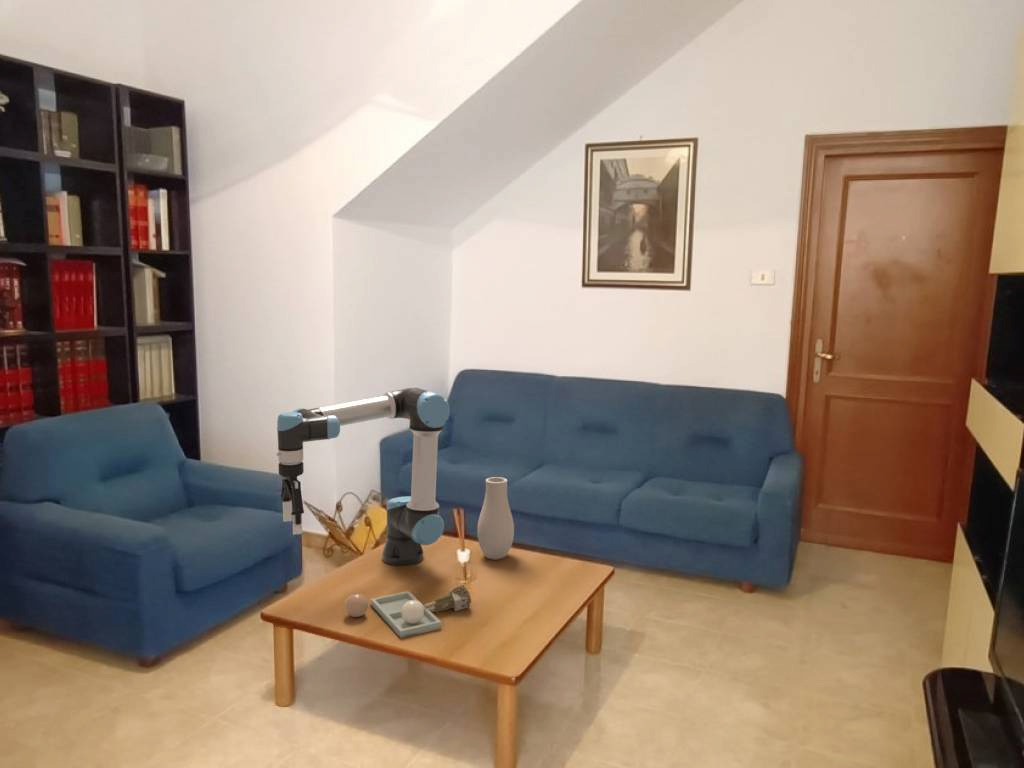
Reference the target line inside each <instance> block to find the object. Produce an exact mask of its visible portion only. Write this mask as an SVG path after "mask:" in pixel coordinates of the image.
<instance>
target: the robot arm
mask: <svg viewBox="0 0 1024 768" xmlns="http://www.w3.org/2000/svg"><path fill="white" fill-rule="evenodd" d="M449 417H450V405H449V403H448V401H447V399H446V398H445V397H444V396H443V395H441V394H439V393H438V392H436V391H433V390H432V391H431V390H427V389H423V388H418V387H407V388H402V389H397V390H393V391H387V392H385V393H384V394H383V395H381V396H377V397H371V398H366V399H365V398H364V399H359V400H353V401H348V402H343V403H337V404H332V405H331V404H330V405H326V406H321V407H315V408H311V409H310V408H309V409H308V408H301V407H300V408H296V409H294V410H293V411H288V412H282V413H280V414H279V415H278V416H277V420H276V421H277V422H276V423H277V425H276V427H277V428H276V431H277V450H278V452H277V453H276V456H277V457H278V459H277V460H278V462H279V463H278V475H279V476H280V477H282V480H281V481H282V482H281V492H280V497H281V500H282V521H283V522H284V523H286V522H292V534H293V535H296V536H297V535H301V534H303V514H304V513H305V510H304V503H303V495H302V489H301V487H302V486H301V481H299V479H298V477H299V476H301V475H303V474H304V462H303V461H304V443H305V442H306V443H307V442H315V441H323V440H327V441H328V440H332V439H335V438H337V437H338V436H339V435H340V432H341V427H342V426H346V425H351V424H357V423H363V422H368V421H371V420H372V421H373V420H378V419H379V420H380V419H383V418H387V419H389V420H393V419H407V420H409V427H408V428H409V431H410V432H412V434H413V435H412V436H413V439H412V440H413V442H412V463H411V464H412V465H411V467H412V468H411V489H410V492H411V493H410V495H408V496H407V495H406V496H398V497H394V498H390V499H389V500H388V501H387V503H386V509H385V511H386V541H385V544H384V547H383V550H382V553H381V556H382V561H383V562H384V563H386V564H388V565H393V566H411V565H414V564H418V563H420V562H421V561H423V559H424V549H423V546H430V545H433V544H435V543H436V542H438V539H440V538H441V537H442V535H443V533H444V531H445V530H444V529H445V522H444V519H443V517H441V516H440V504H439V503H438V502H437V501H436V495H437V493H436V492H437V491H436V490H437V469H438V468H437V466H438V444H439V434H440V433H441V432H442V431H443V428H444V425H445V424H446V423H447V422H446V421H448V420H449Z"/></svg>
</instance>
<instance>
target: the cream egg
mask: <svg viewBox="0 0 1024 768" xmlns="http://www.w3.org/2000/svg"><path fill="white" fill-rule="evenodd" d="M419 601H420V600H419ZM419 601H417V600H409V601H407V602H406V603H404V605H403V606H402V609H401V616H402V618H403V620H404V621H405V622H407V623H409V624H415V623H418V622H419V621H420V620H421V619H422V618H423V615H424V607H423V605H424V604H423V603H422V602H421V601H420V602H421V603H422V604H423V605H422V604H421V603H420V602H419Z"/></svg>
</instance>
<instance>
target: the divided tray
mask: <svg viewBox="0 0 1024 768" xmlns="http://www.w3.org/2000/svg"><path fill="white" fill-rule="evenodd" d="M409 600H417V601H419V602H420V603H421V604H422V605H423V607H424V615H423V618H422V619H421V620H420V621H419V622H418V623H415V624H409V623H407V622H405V621H404V620H403V618H402V616H401V609H402V606H403V605H404V603H406V602H407V601H409ZM370 606H371V608H372V609H373V610H374V611H375V612H376V613H377V614H378V616H380V618H382V619H383V621H384V622H385V623H386V624H387V625H388V626H389V627H390V628H391V629H392V631H393V632H394V633H395V634H396V635H397V636H398V637H399V638H400V639H404V638H409V637H412V636H417V635H419V634H425V633H429V632H432V631H437V630H441V629H442V621H441V620H440V619H439V618H438V617H437V616H436V615H435V614H434V613H432V612H430V611H429V610H428V608H426V607H425V604H423V603H422V602H421V601H420V600H419V599H418V598H416V596H415V595H413V594H412V593H411V591H402V592H397V593H393V594H388V595H384V596H380V597H374V598H371V599H370Z"/></svg>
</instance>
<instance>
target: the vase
mask: <svg viewBox="0 0 1024 768" xmlns="http://www.w3.org/2000/svg"><path fill="white" fill-rule="evenodd" d="M484 494H485V496H484V500H483V503H482V508H481V511H480V513H479V517H478V521H477V528H476V530H477V540H478V544H479V547H480V550H481V551H482V553H483V555H484V556H485V557H486V558H487V559H489V560H495V561H496V560H502V559H503V558H505V557H506V556H507V555H508V553H509V551H511V550H510V549H511V548H512V546H513V543H514V542H513V541H514V537H515V524H514V520H513V519H514V518H513V514H512V512H511V511H512V510H511V507H510V504H509V503H510V502H509V499H508V479H507V478H505V477H500V476H499V477H498V476H492V477H488V478H486V479H485V493H484Z"/></svg>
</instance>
